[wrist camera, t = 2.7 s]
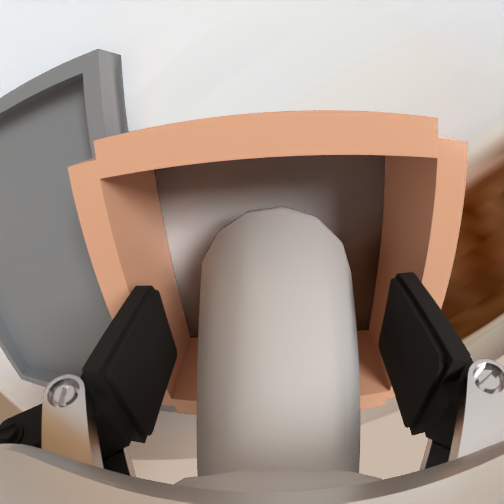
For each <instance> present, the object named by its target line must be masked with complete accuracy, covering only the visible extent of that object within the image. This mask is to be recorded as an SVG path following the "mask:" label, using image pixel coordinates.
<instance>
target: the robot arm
mask: <svg viewBox="0 0 504 504" xmlns="http://www.w3.org/2000/svg"><path fill="white" fill-rule="evenodd" d="M378 344H379V351H380V354H381V356H382V359H383V362H384V365H385V367H386V370H387V373H388V376H389V379H390V382H391V385H392V388H393V391H394V394H395V397H396V400H397V403H398V406H399V409H400V413H401V416H402V419H403V422H404V425H405V427H407V428H408V427H410V430H411V433H412V435H416V434H419V433H423V432H425V434H426V437H427V438H429V439H428V443H427V446H426V450H425V454H424V458H423V461H422V464H421V468H420V471H417V472H413V473H410V474H406V475H402V476H398V477H393V478H389V479H385V480H380V481H375V482H370V483H364V484H358V485H352V486H345V487H337V488H329V489H320V490H308V491H291V492H240V491H223V490H211V489H202V488H193V487H186V486H179V485H172V484H166V483H161V482H155V481H151V480H145V479H141V478H137V477H136V475H135V471H134V468H133V465H132V461H131V457H130V453H129V449H128V446H129V445H130V442H131V441H136V442H141V443H145V441H146V438H147V435H151V434H152V432H153V429H154V426H155V423H156V420H157V417H158V414H159V410H160V407H161V404H162V401H163V398H164V395H165V392H166V389H167V386H168V383H169V380H170V377H171V374H172V371H173V368H174V365H175V362H176V359H177V348H176V345H175V342H174V339H173V336H172V332H171V329H170V326H169V323H168V319H167V316H166V313H165V309H164V306H163V302H162V299H161V295H160V292H159V291H158V290H155V289H154V287H153V286H152V285H146V286H135V287H134V289H133V290H132V292H131V293H130V294H129V296H128V297H127V299H126V300H125V302H124V303H123V305H122V306H121V308H120V309H119V311H118V312H117V314H116V315H115V317H114V318H113V320H112V321H111V323H110V325H109V326H108V328H107V329H106V331H105V332H104V334H103V335H102V337H101V339H100V340H99V342H98V343H97V345H96V347H95V348H94V350H93V351H92V353H91V355H90V356H89V358H88V360H87V361H86V363H85V365H84V366H83V368H82V372H83V373H82V375H81V377H78V376H76V375H71V374H68V375H62V376H60V377H57V378H56V379H54V380H53V381H51V382H50V383H49V384H48V386H47V387H46V389H45V391H44V394H43V403H42V404H40V405H38V406H35V407H33V408H31V409H29V410H27V411H24V412H22V413H20V414H17V415H15V416H13V417H11V418H8V419H7V420H5V421H3V423H2V424H1V425H0V504H504V367H503V366H502V365H501V364H499V363H498V362H496V361H493V360H490V359H481V360H477V361H476V362H473V361H472V359H471V357H470V356H471V355H470V353H469V352H468V350H467V349H466V347H465V345H464V344H463V342H462V341H461V339H460V337H459V336H458V334H457V333H456V331H455V330H454V328H453V327H452V325H451V324H450V322H449V321H448V319H447V318H446V316H445V315H444V313H443V312H442V310H441V309H440V308H439V306H438V305H437V303H436V302H435V300H434V299H433V298H432V296H431V295H430V293H429V292H428V291H427V289H426V288H425V287H424V285H423V284H422V283H421V281H420V280H419V279H418V277H417V276H416V275H415V273H413V272H408V273H397V274H396V276H395V278H392V279H391V281H390V286H389V292H388V297H387V303H386V308H385V313H384V318H383V323H382V328H381V332H380V337H379V343H378Z"/></svg>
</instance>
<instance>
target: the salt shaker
mask: <svg viewBox="0 0 504 504" xmlns="http://www.w3.org/2000/svg"><path fill="white" fill-rule="evenodd" d="M359 457H360V378H359V357H358V340H357V327H356V315H355V304H354V295H353V286H352V277H351V271H350V267H349V264H348V260H347V257H346V253H345V250H344V247H343V243H342V242H341V241H340V240H339V239H338V238H337V237H336V236H335V235H334V234H333V233H332V232H331V231H330V230H329V229H328V228H327V227H326V226H325V225H324V224H323V223H322V222H321V221H320V220H319V219H318V218H317V217H316V216H313V215H310V214H307V213H303V212H300V211H297V210H294V209H291V208H287V207H284V206H281V207H274V208H266V209H259V210H252V211H248V212H246V213H245V214H243V215H242V216H240V217H239V218H237V219H236V220H234V221H233V222H231V223H230V224H228V225H227V226H226V227H224V228H223V229H221V230H220V231H219V232H218V234H217V235H216V237H215V239H214V241H213V242H212V244H211V246H210V248H209V250H208V251H207V253H206V255H205V257H204V259H203V261H202V270H201V287H200V306H199V329H198V360H197V468H198V469H197V470H198V477H190V478H184V479H182V480H181V481H179V482H177V483H176V484H174V485H179V486H186V487H193V488H202V489H211V490H223V491H240V492H291V491H308V490H320V489H329V488H337V487H345V486H352V485H358V484H364V483H370V482H375V481H380V480H382V479H380V478H376V477H371V476H367V475H363V474H360V473H359Z"/></svg>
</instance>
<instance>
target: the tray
mask: <svg viewBox="0 0 504 504" xmlns="http://www.w3.org/2000/svg"><path fill="white" fill-rule="evenodd" d="M127 132H128V126H127V118H126V110H125V101H124V91H123V79H122V66H121V55H118V54H114V53H111V52H108V51H104V50H100V49H97V50H94V51H91V52H89V53H86V54H84V55H82V56H79V57H77V58H75V59H72V60H70V61H68V62H66V63H63V64H61V65H59V66H57V67H55V68H53V69H51V70H49V71H47V72H45V73H43V74H41V75H39V76H37V77H35V78H34V79H32V80H30V81H28V82H26V83H25V84H23V85H21V86H19V87H18V88H16V89H14V90H13V91H11V92H9V93H8V94H6V95H4V96H3V97H1V98H0V347H1V348H2V350H3V352H4V353H5V355H6V356H7V358H8V360H9V361H10V363H11V364H12V366H13V367H14V369H15V370H16V372H17V373H18V375H19V376H20V377H21V379H23V380H26V381H29V382H32V383H35V384H38V385H42V386H45V387H47V386H48V384H49V383H50V382H51V381H53V380H54V379H56V378H57V377H60V376H62V375H68V374H71V375H76V376H78V377H81V375H82V373H83V372H82V368H83V366H84V365H85V363H86V361H87V360H88V358H89V356H90V355H91V353H92V351H93V350H94V348H95V347H96V345H97V343H98V342H99V340H100V339H101V337H102V335H103V334H104V332H105V331H106V329H107V328H108V326H109V325H110V323H111V321H112V318H111V315H110V313H109V310H108V307H107V305H106V302H105V300H104V297H103V294H102V291H101V289H100V286H99V283H98V280H97V277H96V274H95V271H94V268H93V265H92V262H91V259H90V256H89V252H88V249H87V246H86V242H85V239H84V235H83V232H82V228H81V224H80V221H79V217H78V213H77V209H76V205H75V200H74V196H73V192H72V187H71V182H70V177H69V172H68V167H69V166H72V165H75V164H77V163H80V162H83V161H86V160H89V159H92V158H95V157H96V155H95V148H94V142H93V141H95V140H98V139H102V138H106V137H110V136H114V135H118V134H123V133H127ZM160 410H162V411H171V412H177V410H176V408H175V406H168V405H161V407H160Z"/></svg>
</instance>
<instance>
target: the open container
mask: <svg viewBox="0 0 504 504" xmlns="http://www.w3.org/2000/svg"><path fill="white" fill-rule="evenodd" d="M93 142H94V148H95V155H96V157H95V158H92V159H89V160H86V161H83V162H80V163H77V164H75V165H72V166H69V167H68V172H69V177H70V182H71V187H72V192H73V196H74V200H75V205H76V209H77V213H78V217H79V221H80V224H81V228H82V232H83V235H84V239H85V242H86V246H87V249H88V252H89V256H90V259H91V262H92V265H93V268H94V271H95V274H96V277H97V280H98V283H99V286H100V289H101V291H102V294H103V297H104V300H105V302H106V305H107V307H108V310H109V313H110V315H111V318H112V320H113V318H114V317H115V315H116V314H117V312H118V311H119V309H120V308H121V306H122V305H123V303H124V302H125V300H126V299H127V297H128V296H129V294H130V293H131V292H132V290H133V289H134V287H135V286H146V285H152V286H153V287H154V289H155V290H158V291H159V292H160V295H161V299H162V302H163V306H164V309H165V313H166V316H167V319H168V323H169V326H170V329H171V332H172V336H173V339H174V342H175V345H176V348H177V359H176V362H175V365H174V368H173V371H172V374H171V377H170V380H169V383H168V386H167V389H166V392H165V395H164V398H163V401H162V404H161V405H168V406H175V408H176V410H177V412H178V413H184V414H196V415H197V360H198V337H190V333H189V329H188V326H187V322H186V318H185V314H184V310H183V306H182V302H181V298H180V294H179V290H178V286H177V282H176V278H175V273H174V269H173V265H172V260H171V256H170V251H169V246H168V242H167V237H166V232H165V227H164V222H163V216H162V211H161V206H160V200H159V195H158V189H157V183H156V177H155V171H154V169H160V168H167V167H175V166H182V165H190V164H198V163H207V162H217V161H227V160H238V159H251V158H265V157H282V156H305V155H385V185H384V206H383V221H382V233H381V244H380V254H379V263H378V271H377V279H376V286H375V293H374V300H373V306H372V312H371V318H370V323H369V329H368V330H359V331H357V340H358V357H359V378H360V409H366V408H372V407H378V406H384V404H385V402H386V399H387V398H393V397H395V394H394V391H393V388H392V385H391V382H390V379H389V376H388V373H387V370H386V367H385V365H384V362H383V359H382V356H381V354H380V351H379V344H378V343H379V337H380V332H381V328H382V323H383V318H384V313H385V308H386V303H387V297H388V292H389V286H390V281H391V279H392V278H395V276H396V274H397V273H408V272H413V273H415V275H416V276H417V277H418V279H419V280H420V281H421V283H422V284H423V285H424V287H425V288H426V289H427V291H428V292H429V293H430V295H431V296H432V298H433V299H434V300H435V302H436V303H437V305H438V306H439V308H440V309H441V308H442V304H443V301H444V297H445V294H446V290H447V286H448V282H449V278H450V274H451V270H452V265H453V261H454V256H455V251H456V246H457V241H458V236H459V230H460V224H461V217H462V210H463V202H464V194H465V184H466V172H467V156H468V142H467V141H463V140H458V139H454V138H450V137H445V136H441V135H438V118H434V117H427V116H418V115H409V114H398V113H385V112H369V111H337V110H314V111H282V112H265V113H251V114H240V115H230V116H221V117H213V118H205V119H198V120H191V121H184V122H178V123H172V124H167V125H161V126H156V127H151V128H146V129H141V130H136V131H131V132H127V133H123V134H118V135H114V136H110V137H106V138H102V139H98V140H95V141H93Z"/></svg>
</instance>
